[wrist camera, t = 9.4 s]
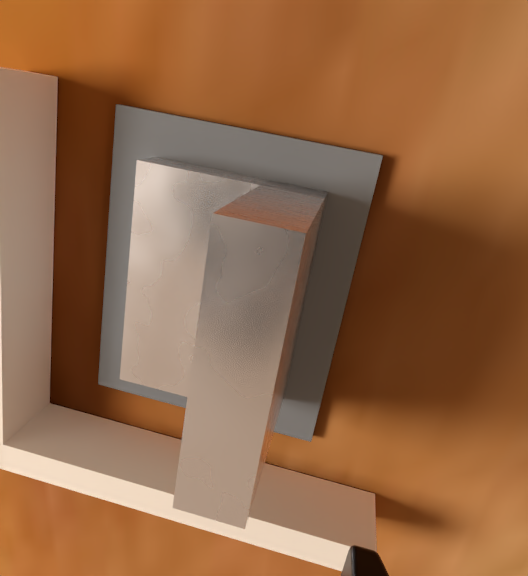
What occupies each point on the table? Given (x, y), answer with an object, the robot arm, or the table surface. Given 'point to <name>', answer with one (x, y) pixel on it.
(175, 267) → the aluminium bracket
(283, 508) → the white l-shaped block
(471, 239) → the table surface
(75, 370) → the table surface
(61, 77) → the table surface
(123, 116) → the pad
